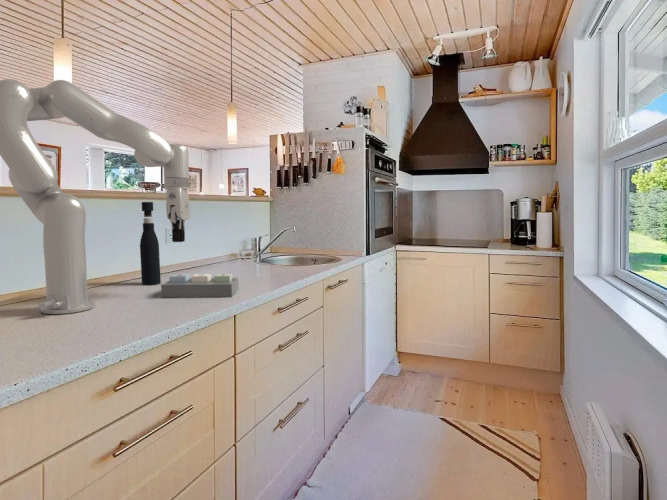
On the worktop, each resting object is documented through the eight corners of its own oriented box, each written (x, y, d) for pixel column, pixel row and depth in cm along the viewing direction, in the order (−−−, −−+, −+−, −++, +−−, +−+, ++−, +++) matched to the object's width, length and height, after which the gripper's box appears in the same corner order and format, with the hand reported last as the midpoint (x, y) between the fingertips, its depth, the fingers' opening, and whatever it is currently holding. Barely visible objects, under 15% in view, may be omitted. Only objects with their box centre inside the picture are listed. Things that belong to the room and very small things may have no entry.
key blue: (185, 285, 136) (185, 276, 136) (169, 285, 136) (169, 276, 135) (189, 282, 141) (189, 273, 140) (174, 283, 140) (174, 273, 140)
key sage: (229, 285, 137) (229, 275, 136) (214, 285, 136) (213, 275, 136) (232, 282, 142) (232, 273, 141) (217, 282, 141) (217, 273, 141)
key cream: (207, 285, 136) (207, 275, 136) (191, 285, 136) (191, 276, 136) (211, 282, 141) (211, 273, 141) (196, 282, 141) (195, 273, 141)
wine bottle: (163, 283, 156) (159, 201, 154) (146, 285, 152) (142, 201, 149) (156, 281, 161) (152, 202, 158) (139, 283, 156) (134, 202, 154)
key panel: (231, 296, 133) (231, 284, 133) (161, 297, 132) (161, 284, 131) (238, 289, 146) (238, 277, 146) (174, 289, 145) (174, 278, 144)
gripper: (181, 182, 128) (183, 243, 129) (195, 185, 143) (196, 239, 145) (156, 182, 127) (158, 243, 129) (172, 185, 143) (174, 240, 144)
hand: (178, 241), depth 137 cm, fingers closed
